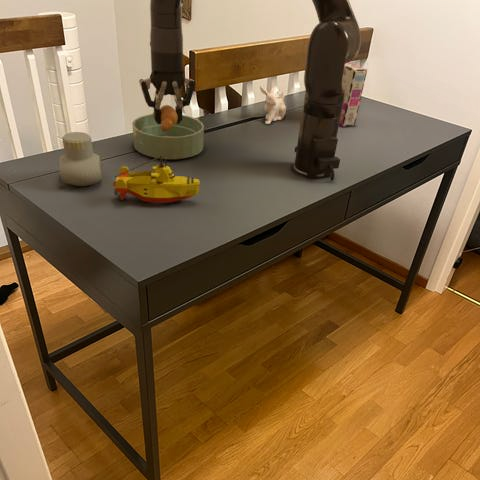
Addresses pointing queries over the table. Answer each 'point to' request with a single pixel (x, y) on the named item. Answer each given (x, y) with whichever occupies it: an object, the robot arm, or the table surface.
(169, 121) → the croissant
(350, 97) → the candy bar box
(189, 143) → the bowl
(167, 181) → the toy boat
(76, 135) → the air freshener
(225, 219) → the table surface
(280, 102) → the rabbit figurine
